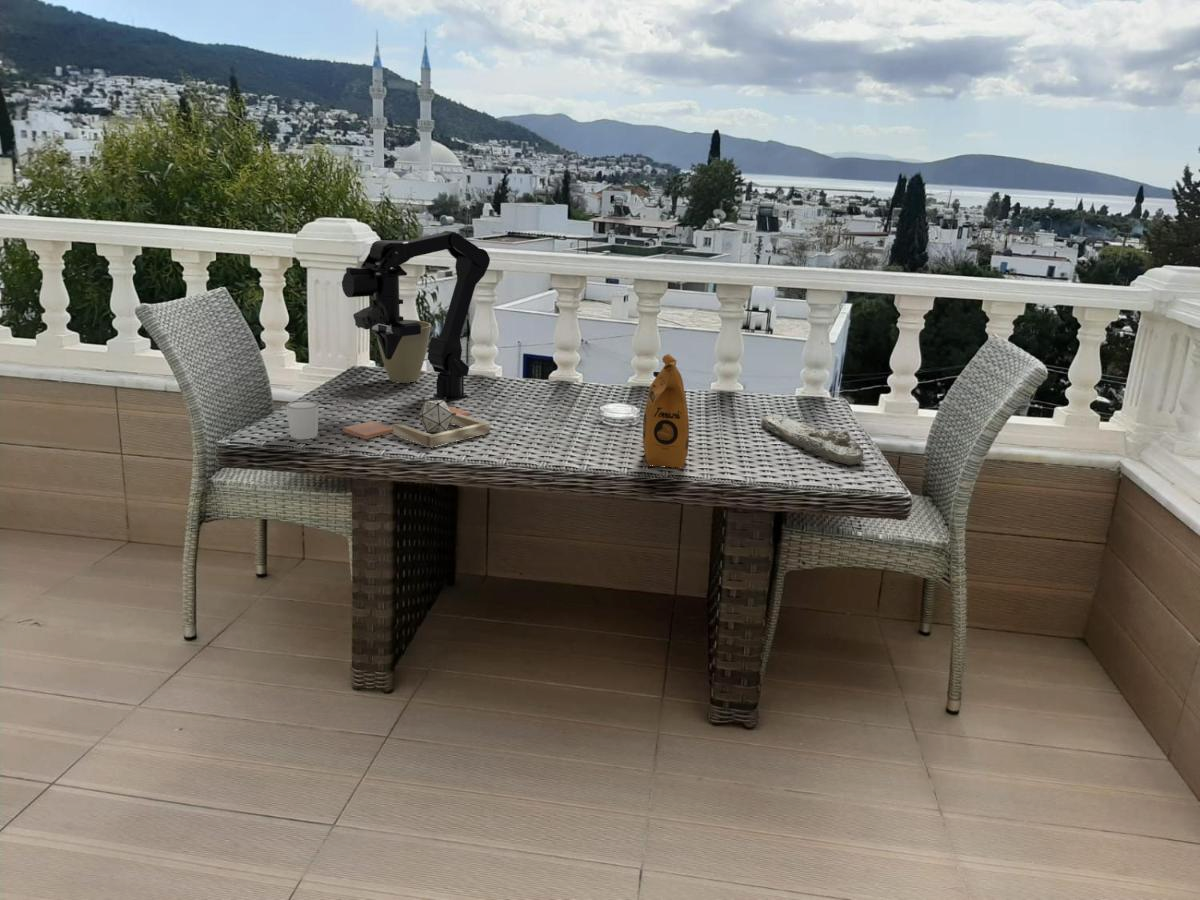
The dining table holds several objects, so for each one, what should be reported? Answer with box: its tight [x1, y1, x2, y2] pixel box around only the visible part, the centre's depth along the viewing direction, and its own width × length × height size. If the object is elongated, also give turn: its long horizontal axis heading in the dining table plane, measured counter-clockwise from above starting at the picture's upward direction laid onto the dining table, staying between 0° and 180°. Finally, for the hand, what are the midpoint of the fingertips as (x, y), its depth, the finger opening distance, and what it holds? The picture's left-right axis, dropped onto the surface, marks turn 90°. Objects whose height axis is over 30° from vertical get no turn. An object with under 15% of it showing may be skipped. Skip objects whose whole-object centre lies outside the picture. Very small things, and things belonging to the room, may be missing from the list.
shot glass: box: [285, 400, 320, 440], centre depth 195 cm, size 7×7×7 cm
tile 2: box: [448, 405, 470, 417], centre depth 217 cm, size 8×8×1 cm
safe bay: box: [392, 412, 491, 447], centre depth 201 cm, size 17×13×2 cm
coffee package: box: [642, 353, 690, 469], centre depth 188 cm, size 10×12×22 cm
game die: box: [414, 397, 456, 433], centre depth 202 cm, size 9×8×10 cm
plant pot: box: [376, 319, 432, 384], centre depth 247 cm, size 15×15×16 cm
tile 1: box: [342, 421, 394, 440], centre depth 201 cm, size 8×8×1 cm
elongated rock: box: [760, 414, 865, 466], centre depth 208 cm, size 35×5×10 cm
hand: (388, 359), depth 219 cm, fingers closed
